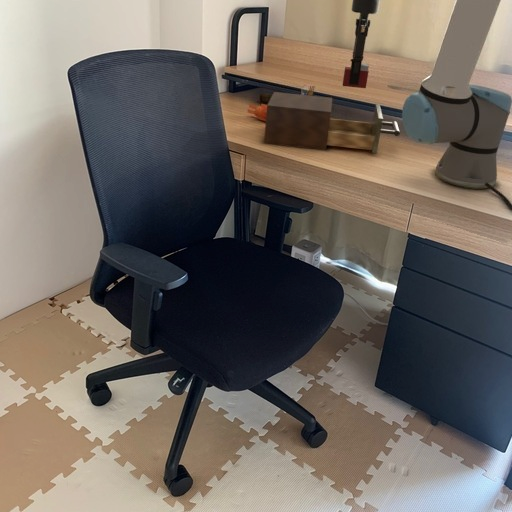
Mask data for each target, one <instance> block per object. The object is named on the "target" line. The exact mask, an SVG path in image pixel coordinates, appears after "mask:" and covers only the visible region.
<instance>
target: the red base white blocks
mask: <svg viewBox="0 0 512 512" xmlns="http://www.w3.org/2000/svg"><path fill="white" fill-rule="evenodd" d="M369 68H370V65H369V63H363V62H362V64H361V70H360V76H359V82H358V85H354V84H349V80H350V74H351V66H350V67H349V66H345V67H344V71H343V78H342V87H347V88H348V87H349V88H357V89H358V88H359V89H366V88H367V83H368V78H369V72H370V71H369Z"/></svg>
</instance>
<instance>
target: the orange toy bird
mask: <svg viewBox="0 0 512 512" xmlns="http://www.w3.org/2000/svg"><path fill="white" fill-rule="evenodd" d="M267 105H268V104H266V103H261V104H260V105H253V104H249V105H248V108H249V109H247V113H248V114H252V115H255V117H257V120H260V121H264V122H266V114H267ZM252 109H253V110H252Z"/></svg>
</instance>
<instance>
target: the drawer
mask: <svg viewBox="0 0 512 512" xmlns="http://www.w3.org/2000/svg"><path fill="white" fill-rule="evenodd" d="M383 126H387V127H392V129H384V128H383ZM381 134H386V135H394V136H395V137H398V136H400V134H401V131H400V128H399V126H398V122H397V121H396V120H395V121H384V117H383V113H382V109H381V105H380V103H375V105H374V111H373V115H372V122H368V121H357V120H349V119H348V120H347V119H339V118H330V124H329V131H328V139H327V146H330V147H331V146H332V147H341V148H351V149H359V150H369V151H371V153H372V154H377V152H378V148H379V142H380V137H381Z"/></svg>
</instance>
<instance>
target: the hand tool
mask: <svg viewBox="0 0 512 512" xmlns="http://www.w3.org/2000/svg"><path fill="white" fill-rule="evenodd" d="M272 95H273V94H270V93H268V92H266V91H262V92H261V93H260V94H259V102H260V103H261V104H266V105H268V103H269V101H270V99H271V97H272Z"/></svg>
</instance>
